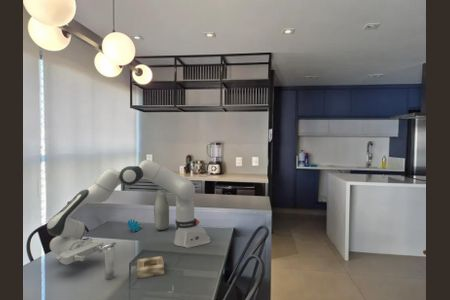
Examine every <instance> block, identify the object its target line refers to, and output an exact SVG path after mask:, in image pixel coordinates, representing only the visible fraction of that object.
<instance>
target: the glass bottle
mask: <svg viewBox="0 0 450 300" xmlns="http://www.w3.org/2000/svg"><path fill="white" fill-rule="evenodd" d="M167 198H168V197H167V192H166V190H164V189H160V190H159V189H158V190H156V192H155V201H154V205H153V215H154V216H153V217H154V218H153V219H154V221H153V223H154V226H155V227H154V228H155V229H156V230H157V231H163V230H164V231H165V230H166V229H167V228H168V227H169V225H170V205H169V203H168V202H169V201H168V199H167Z"/></svg>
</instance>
